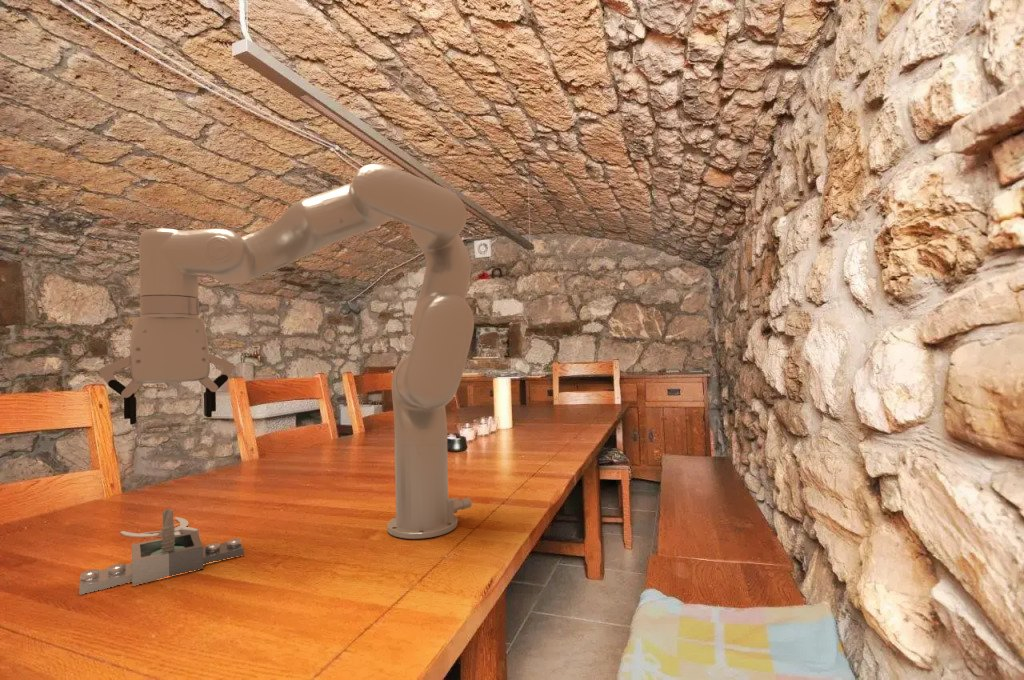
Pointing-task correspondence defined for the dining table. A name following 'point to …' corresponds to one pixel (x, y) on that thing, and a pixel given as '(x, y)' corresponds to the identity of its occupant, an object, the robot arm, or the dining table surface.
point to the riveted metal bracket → (159, 562)
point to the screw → (168, 534)
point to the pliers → (178, 531)
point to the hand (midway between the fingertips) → (171, 420)
